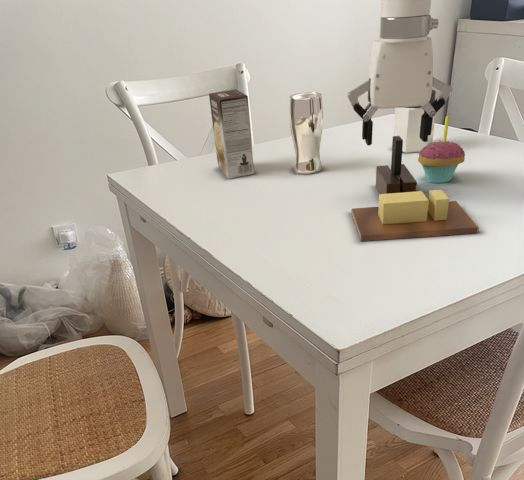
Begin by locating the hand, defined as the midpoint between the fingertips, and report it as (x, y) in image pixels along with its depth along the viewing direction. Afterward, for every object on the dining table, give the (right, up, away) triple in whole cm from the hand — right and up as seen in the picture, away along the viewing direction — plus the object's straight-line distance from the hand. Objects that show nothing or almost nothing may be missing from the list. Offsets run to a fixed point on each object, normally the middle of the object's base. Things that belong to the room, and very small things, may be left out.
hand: (395, 141), depth 95 cm
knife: (+1, -8, +5) cm, 10 cm away
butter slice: (+5, -15, -7) cm, 17 cm away
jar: (+11, +10, +31) cm, 34 cm away
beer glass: (-14, +2, +23) cm, 27 cm away
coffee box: (-30, +3, +26) cm, 40 cm away
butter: (-1, -15, -7) cm, 16 cm away
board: (+1, -16, -6) cm, 17 cm away
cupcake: (+11, -4, +11) cm, 16 cm away
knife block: (+1, -8, +5) cm, 10 cm away
